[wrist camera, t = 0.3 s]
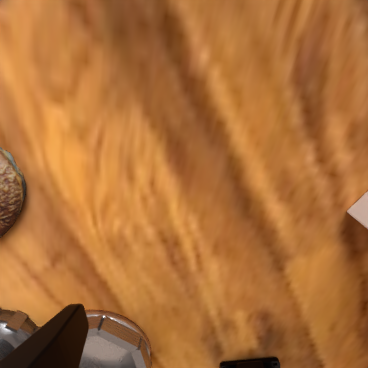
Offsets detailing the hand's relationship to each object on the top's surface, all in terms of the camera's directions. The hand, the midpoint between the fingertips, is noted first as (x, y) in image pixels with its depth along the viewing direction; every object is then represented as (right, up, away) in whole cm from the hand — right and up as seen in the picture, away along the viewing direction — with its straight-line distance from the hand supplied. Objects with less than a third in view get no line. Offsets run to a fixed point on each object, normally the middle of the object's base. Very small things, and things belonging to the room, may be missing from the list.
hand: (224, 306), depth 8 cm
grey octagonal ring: (-11, -15, +21) cm, 28 cm away
